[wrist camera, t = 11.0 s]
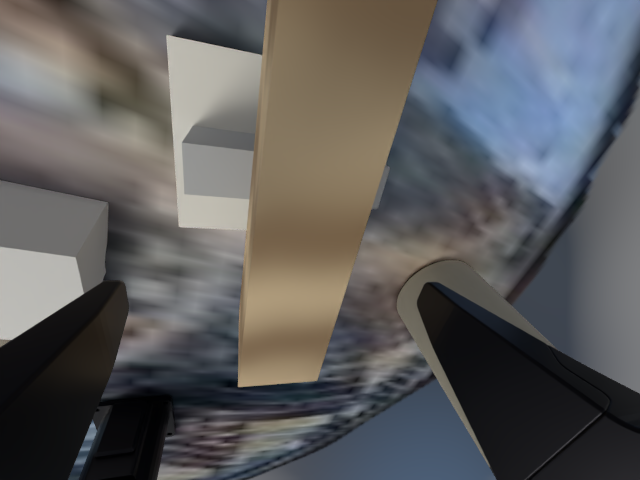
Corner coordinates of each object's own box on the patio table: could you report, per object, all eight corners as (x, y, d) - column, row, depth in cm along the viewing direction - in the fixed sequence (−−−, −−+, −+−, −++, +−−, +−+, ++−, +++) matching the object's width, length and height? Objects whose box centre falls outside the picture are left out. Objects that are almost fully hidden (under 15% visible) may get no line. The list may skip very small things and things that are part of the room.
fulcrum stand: (353, 229, 23) (375, 264, 19) (181, 219, 19) (167, 259, 16) (393, 82, 18) (433, 91, 14) (170, 35, 14) (145, 30, 11)
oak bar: (275, -89, 10) (299, -192, 6) (384, -48, 11) (471, -108, 7) (239, 312, 19) (238, 387, 14) (301, 311, 20) (316, 380, 16)
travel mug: (426, 248, 25) (685, 529, 10) (488, 268, 28) (756, 506, 14) (380, 314, 29) (527, 599, 14) (440, 325, 32) (613, 568, 17)
